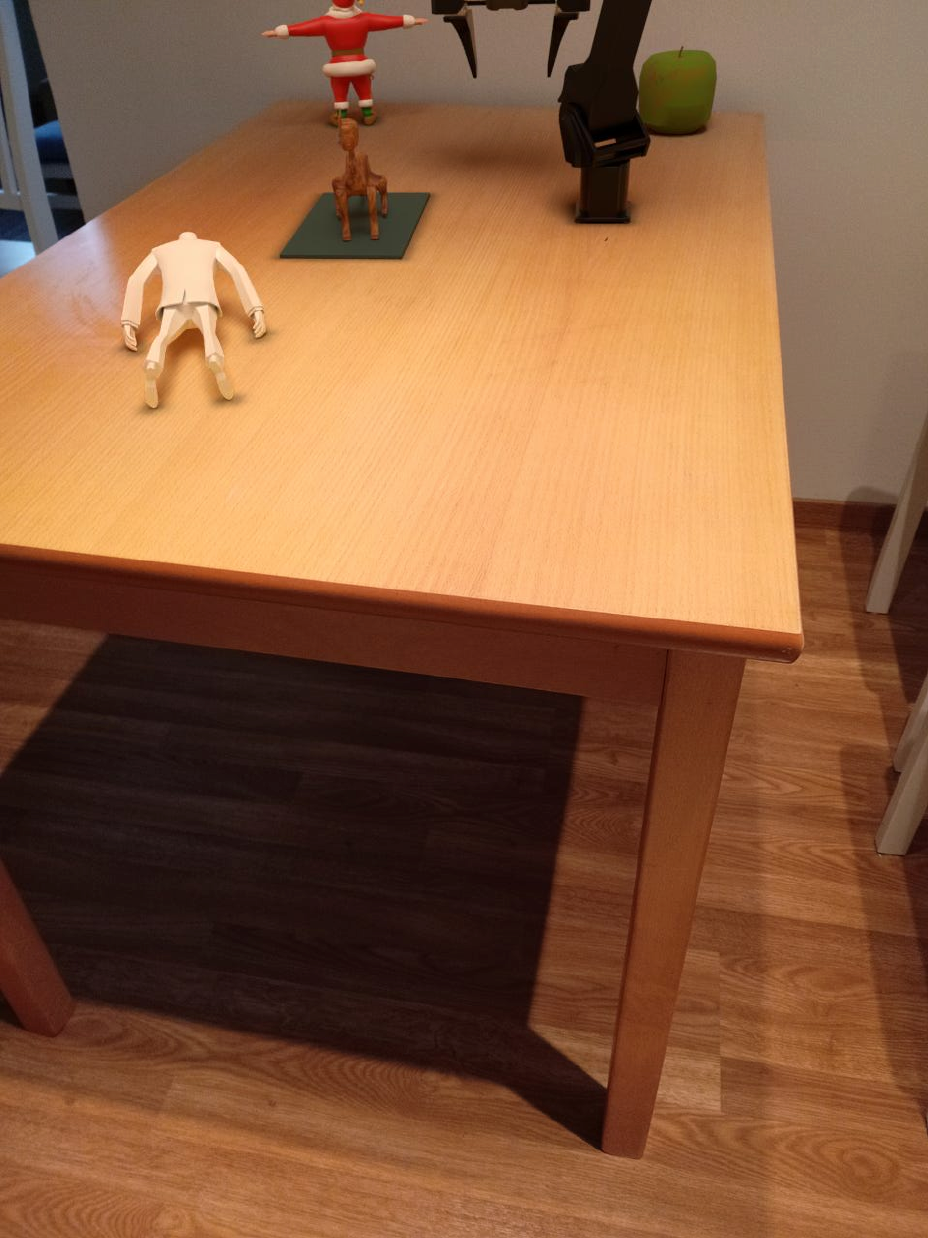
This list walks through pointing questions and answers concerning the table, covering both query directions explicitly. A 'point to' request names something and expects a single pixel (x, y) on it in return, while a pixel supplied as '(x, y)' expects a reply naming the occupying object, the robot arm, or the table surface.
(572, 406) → the table surface
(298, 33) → the santa figurine
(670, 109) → the apple
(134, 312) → the male figurine
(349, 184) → the cat figurine
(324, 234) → the mat
